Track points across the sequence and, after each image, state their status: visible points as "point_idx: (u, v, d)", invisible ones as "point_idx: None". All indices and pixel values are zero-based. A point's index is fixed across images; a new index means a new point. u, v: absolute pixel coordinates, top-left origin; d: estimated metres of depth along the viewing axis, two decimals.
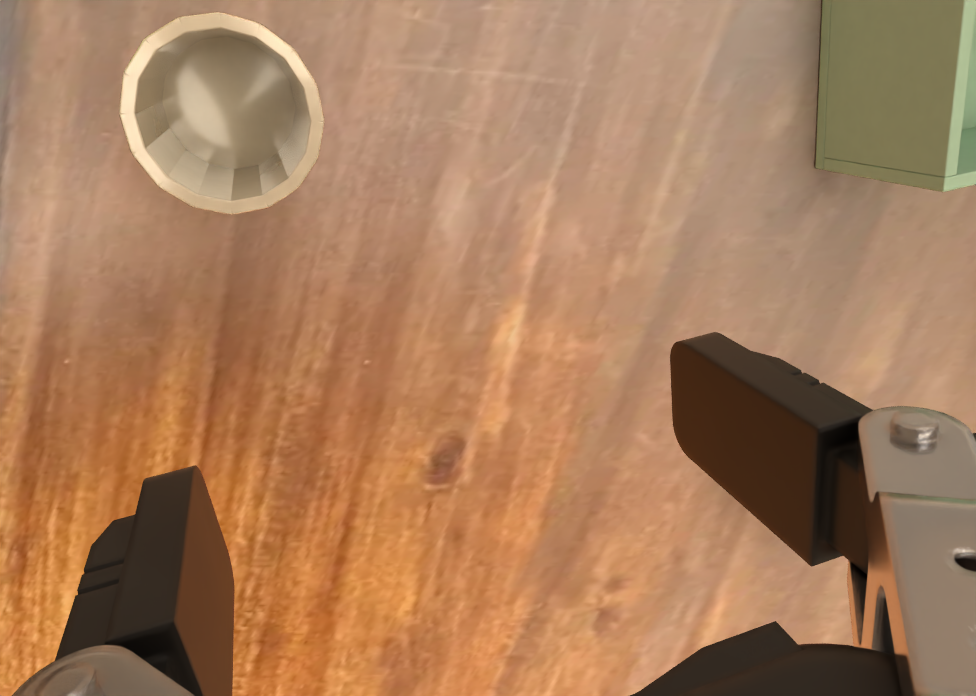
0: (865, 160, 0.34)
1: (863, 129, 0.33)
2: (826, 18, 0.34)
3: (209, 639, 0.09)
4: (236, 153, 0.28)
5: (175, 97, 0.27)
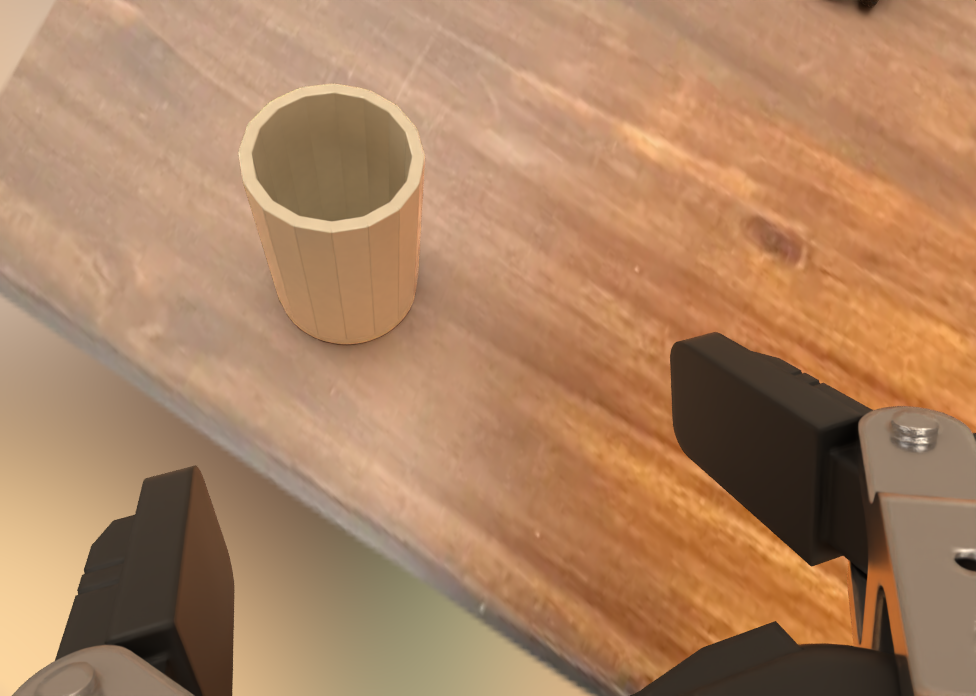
0: None
1: None
2: None
3: (209, 639, 0.09)
4: None
5: None
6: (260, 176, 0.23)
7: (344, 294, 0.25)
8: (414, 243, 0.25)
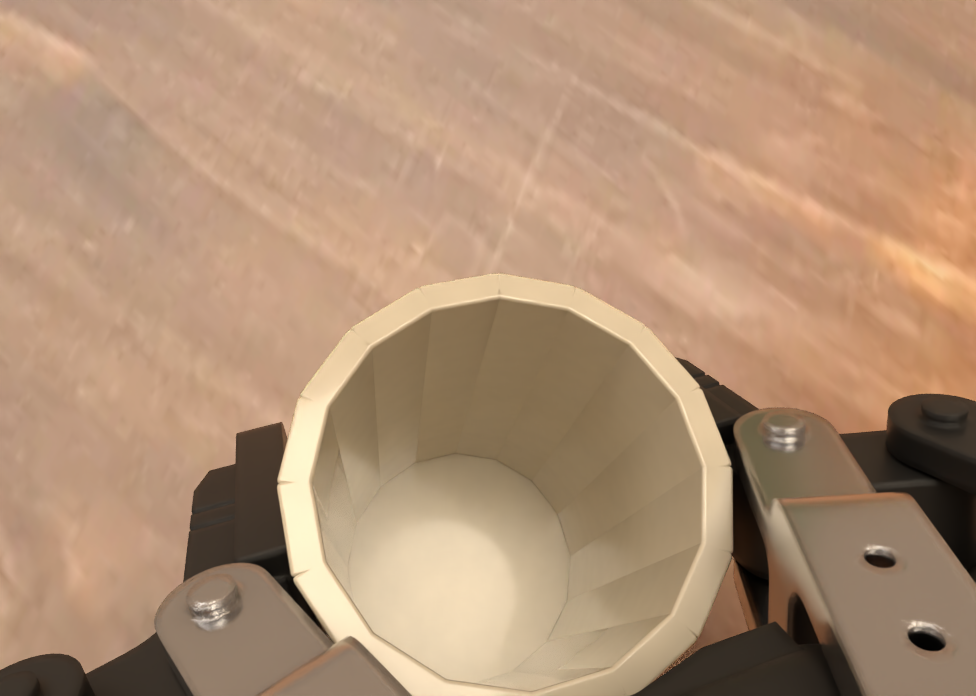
0: None
1: None
2: None
3: None
4: (541, 586, 0.16)
5: (421, 651, 0.15)
6: (324, 496, 0.10)
7: None
8: None
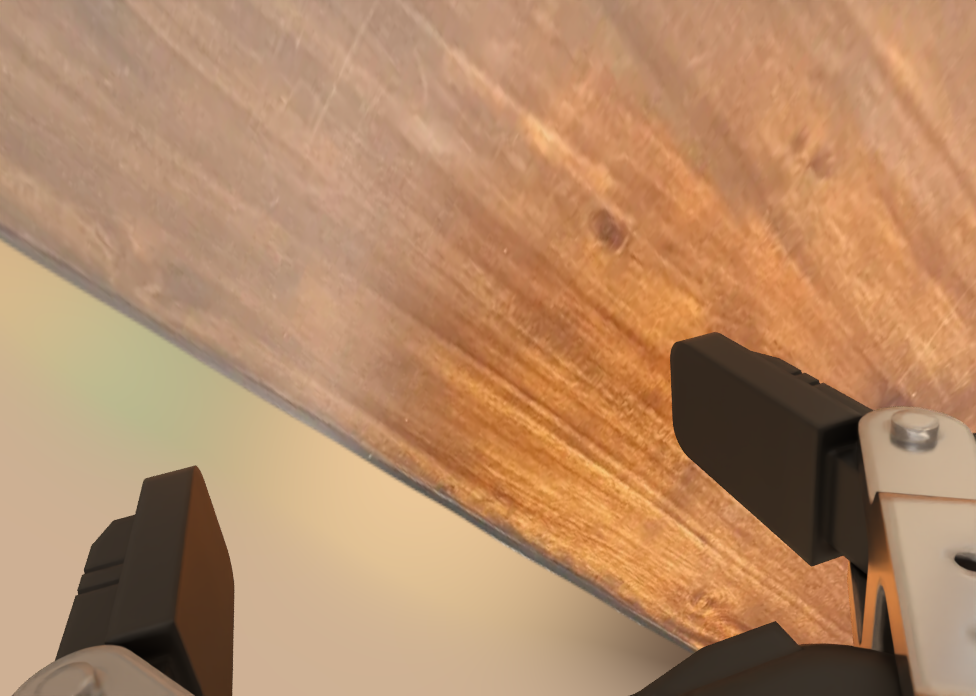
0: None
1: None
2: None
3: (209, 640, 0.09)
4: None
5: None
6: None
7: None
8: None
